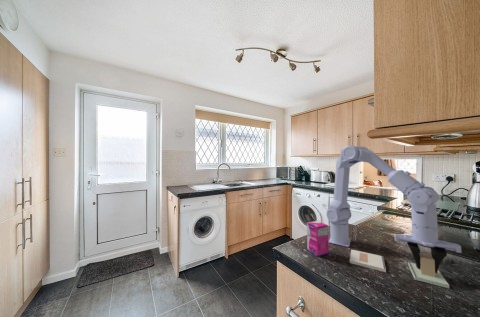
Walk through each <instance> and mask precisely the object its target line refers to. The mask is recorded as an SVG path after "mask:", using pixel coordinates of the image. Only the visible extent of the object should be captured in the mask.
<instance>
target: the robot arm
mask: <svg viewBox="0 0 480 317" xmlns="http://www.w3.org/2000/svg"><path fill="white" fill-rule="evenodd" d="M361 162H363V163H366V164H367V163H368V164H370V166H372V167H374V168H375V169H376V170H378V171H379V172H381V173H382V174H384V175H385V176H386V177H387V182H388V183H390V184H391V185H392V186H393V187H395V188H396V189H397V190H398V191H399V192H401V193H402V194H403V195H404V196H406V200H407V201H408V202H409V203H410V206H411V207H410V208H411V210H410V213H411V233H412V234H411V235H410V234H409V235H408V234H399V233H398V234H397V233H394V240H395V242H398V243H400V242H401V243H406V245H407V246H408V247H409V250H410V251H411V253H412V256H413V259H414V263H415V264H416V267H417V268H418V269H420V253H421V249H420V246H424V247H429V248H430V255H431V256H432V258H433V259H434V260H435V273H437V272H438V270H439V267H440V266H441V263H442V262H443V260H444V259H445V258H446V257H447V255H448V253H447V251H452V252H455V253H458V254H459V253H460V254H462V246H461V245H460V244H458V243H455V242H454V243H453V242H449V241H445V240H440V239H439V232H438V231H439V229H438V213H437V204H436V203H437V202H438V201H439V199H440V196H439V194H438V192H437V190H435V189H434V188H433V187H430V186H426V183H424V182H420V181H419V180H417V179H416V178H415V177H412V175H411V172H409V171H408V170H405V171H404V170H403V169H398V170H397V169H395V168H394V167H392V166H391V165H390V164H389V163H388V162H387V161H385V160H384V159H383V158H381V157H380V156H379V155H377V153H375V152H374V151H373V150H371V149H369V148H367V147H366V146H364V145H363V146H359V145H358V146H355V145H352V144H350V145H347V146H345V147H344V148H343V149H341V150H340V155H339V157H338V158H337V160H336V163H335V174H334V175H335V176H334V188H333V200H332V201H331V202H330V203H329V204H328V209H327V210H326V218H327V219H328V220H329V225H330V226H329V229H330V232H329V233H330V236H329V237H330V238H328V244H332V245H333V244H334V245H337V246H342V247H347V248H348V247H350V245H351V238H349V220H350V219H351V217H352V212H351V208H350V207H351V206H350V204H349V202H348V195H349V182H350V172H351V171H350V170H351V167H353V166H354V165H356V164H357V163H361ZM446 250H447V251H446Z"/></svg>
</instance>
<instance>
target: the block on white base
mask: <svg viewBox="0 0 480 317" xmlns="http://www.w3.org/2000/svg"><path fill="white" fill-rule="evenodd" d="M407 265H408V267H409V270H410V272H411V274H412V276H413V279H414V280H415V281H419V282H424V283H427V284H431V285H435V286H438V287H442V288H446V289H450V284H449V283H448V282H447V280H446V279H445V277H444V276H443V274H442V273H441V272H440V270H439V269H438V272H437V273H435V260H434V259H433V258H432V255H431V254H429V253H423V252H420V269H418V268H417V267H416V263H415V262H410V261H408V262H407Z"/></svg>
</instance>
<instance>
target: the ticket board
mask: <svg viewBox="0 0 480 317" xmlns="http://www.w3.org/2000/svg"><path fill="white" fill-rule="evenodd" d="M350 250H351V251H350V255H349V264H353V265H356V266H360V267H364V268H367V269H371V270H376V271H379V272H383V273H387V268H386V264H385V263H386V262H385V260H384V259H385V258H384V255H379V254H374V253H370V252H369V253H368V252H365V251H360V250H356V249H350Z"/></svg>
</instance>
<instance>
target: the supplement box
mask: <svg viewBox="0 0 480 317" xmlns="http://www.w3.org/2000/svg"><path fill="white" fill-rule="evenodd" d="M306 237H307V238H306V239H307V240H306V242H307V245H306V246H307V251H308V252H310V253H311V254H313V255H315V256H316V257H323V256H326V255H329V254H330V252H329V250H330V249H329V246H330V245H329V242H328V241H329V225H328V224H326V223H323V222H321V221H318V220H315V221H310V222H309V221H308V222H306Z"/></svg>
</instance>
